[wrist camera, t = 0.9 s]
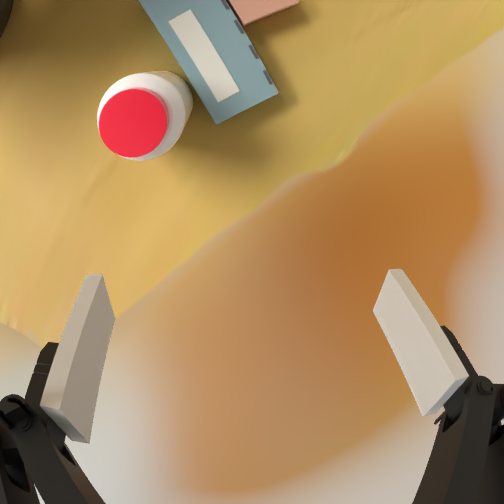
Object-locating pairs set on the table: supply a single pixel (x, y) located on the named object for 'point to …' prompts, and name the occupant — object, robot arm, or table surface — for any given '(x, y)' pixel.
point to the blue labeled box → (212, 54)
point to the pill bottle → (144, 114)
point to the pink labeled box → (257, 9)
